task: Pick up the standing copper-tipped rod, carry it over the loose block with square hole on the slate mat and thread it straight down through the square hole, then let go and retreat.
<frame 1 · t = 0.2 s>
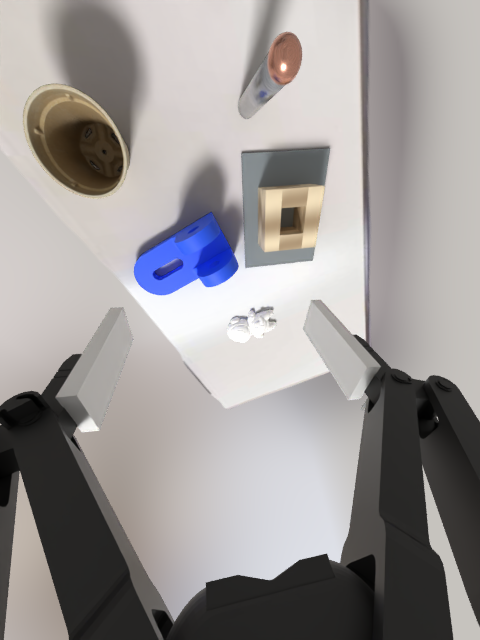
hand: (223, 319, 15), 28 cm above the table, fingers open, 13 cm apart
block with square hole: (282, 215, 38), resting on mat
copper-tipped rod: (246, 106, 29), on the table
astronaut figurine: (251, 324, 52), on the table
mat: (282, 215, 38), on the table
bracket: (181, 257, 40), on the table
flower pot: (107, 152, 30), on the table
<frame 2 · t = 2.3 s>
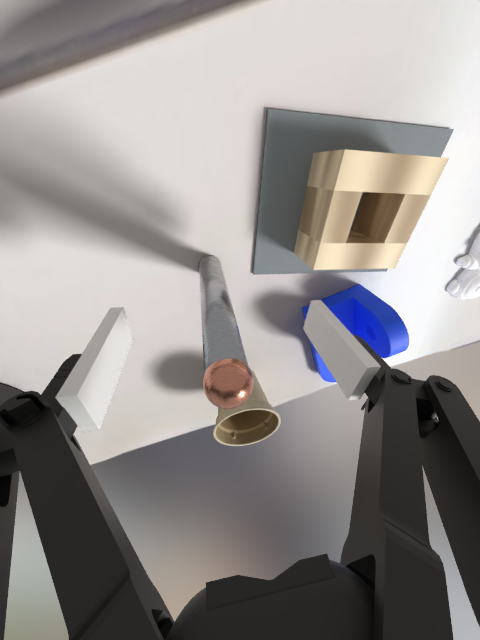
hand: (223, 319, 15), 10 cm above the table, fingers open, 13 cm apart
block with square hole: (342, 210, 22), resting on mat
copper-tipped rod: (210, 265, 24), on the table
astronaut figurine: (478, 258, 31), on the table
mat: (340, 209, 23), on the table
bracket: (334, 338, 35), on the table
flower pot: (237, 377, 36), on the table
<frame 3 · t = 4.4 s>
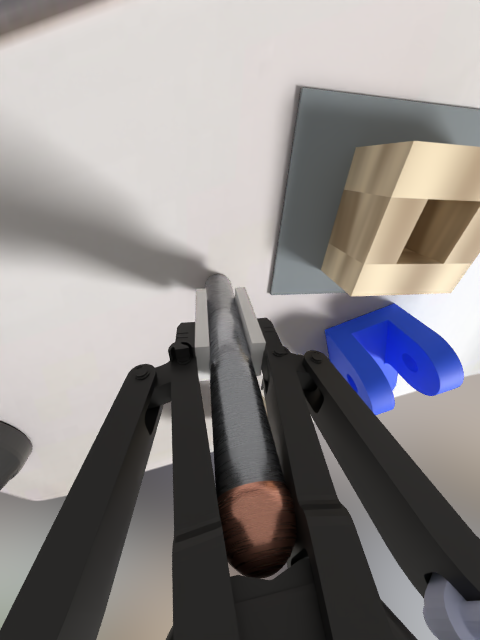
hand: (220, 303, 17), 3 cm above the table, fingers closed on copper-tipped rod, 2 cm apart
block with square hole: (384, 219, 18), resting on mat
copper-tipped rod: (218, 286, 20), on the table, touching gripper
mat: (381, 218, 18), on the table
bracket: (358, 361, 30), on the table
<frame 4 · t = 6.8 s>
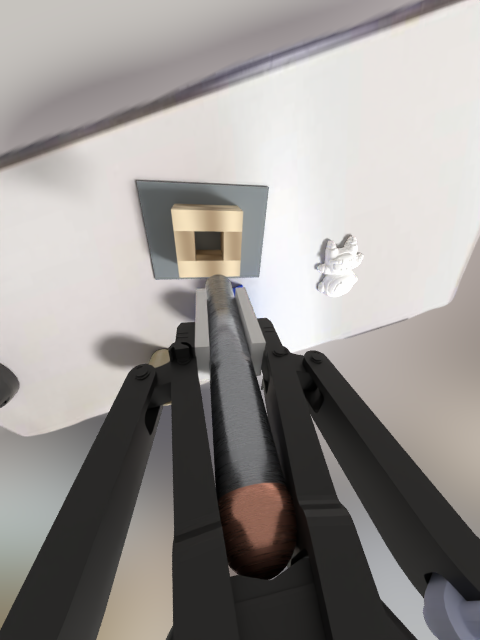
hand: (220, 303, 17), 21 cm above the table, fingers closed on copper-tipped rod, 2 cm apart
block with square hole: (207, 236, 33), resting on mat
copper-tipped rod: (218, 286, 20), point 18 cm above the table, touching gripper
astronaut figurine: (336, 266, 41), on the table
mat: (207, 236, 34), on the table
flower pot: (166, 357, 47), on the table
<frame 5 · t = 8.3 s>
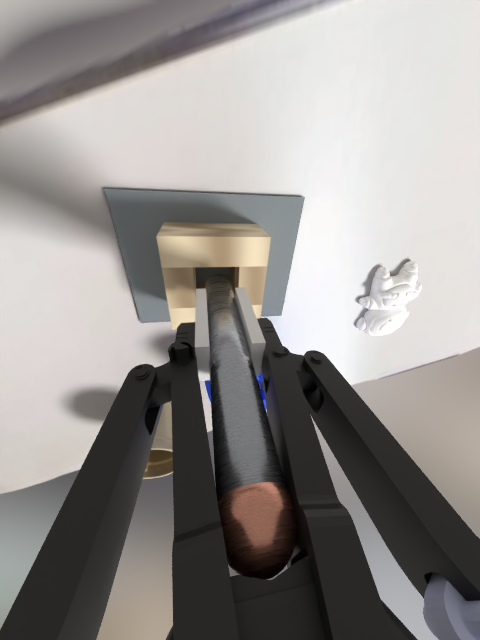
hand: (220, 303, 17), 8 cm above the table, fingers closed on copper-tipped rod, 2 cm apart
block with square hole: (213, 267, 23), resting on mat
copper-tipped rod: (218, 286, 20), point 5 cm above the table, touching gripper
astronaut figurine: (383, 298, 31), on the table
mat: (213, 266, 24), on the table
flower pot: (159, 408, 37), on the table
when the fingers open (6 cm above the table, at t = 9.5 s): copper-tipped rod drops 2 cm, resting on mat.
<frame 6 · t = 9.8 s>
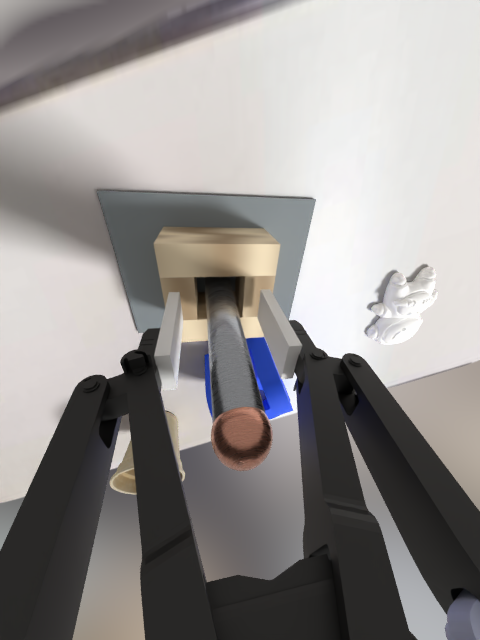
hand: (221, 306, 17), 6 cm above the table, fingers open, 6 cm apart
block with square hole: (216, 274, 22), resting on mat
copper-tipped rod: (216, 274, 22), resting on mat
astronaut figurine: (396, 305, 30), on the table
mat: (216, 273, 22), on the table
bracket: (253, 379, 34), on the table
flower pot: (158, 418, 36), on the table
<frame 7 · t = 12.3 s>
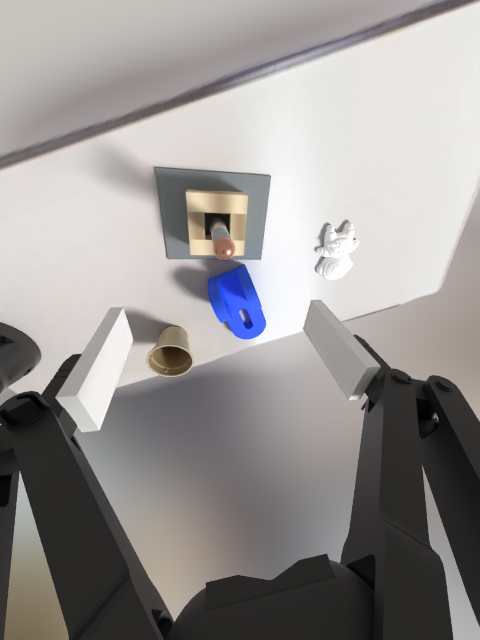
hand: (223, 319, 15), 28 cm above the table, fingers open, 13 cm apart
block with square hole: (215, 220, 37), resting on mat
copper-tipped rod: (215, 220, 37), resting on mat
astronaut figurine: (334, 251, 45), on the table
mat: (215, 220, 38), on the table
bracket: (240, 305, 49), on the table
flower pot: (174, 334, 51), on the table
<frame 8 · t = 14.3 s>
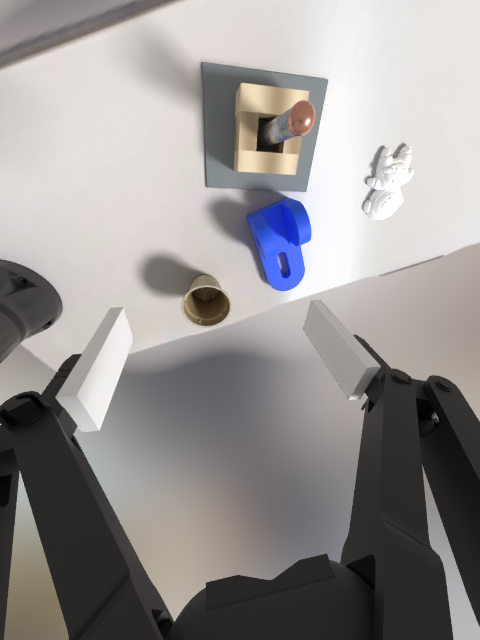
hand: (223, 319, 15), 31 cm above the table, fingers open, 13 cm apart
block with square hole: (262, 137, 34), resting on mat
copper-tipped rod: (262, 137, 33), resting on mat
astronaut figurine: (385, 184, 41), on the table
mat: (262, 137, 34), on the table
bracket: (277, 250, 45), on the table
flower pot: (205, 286, 48), on the table
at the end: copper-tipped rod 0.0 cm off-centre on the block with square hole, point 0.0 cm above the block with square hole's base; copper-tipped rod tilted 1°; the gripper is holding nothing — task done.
